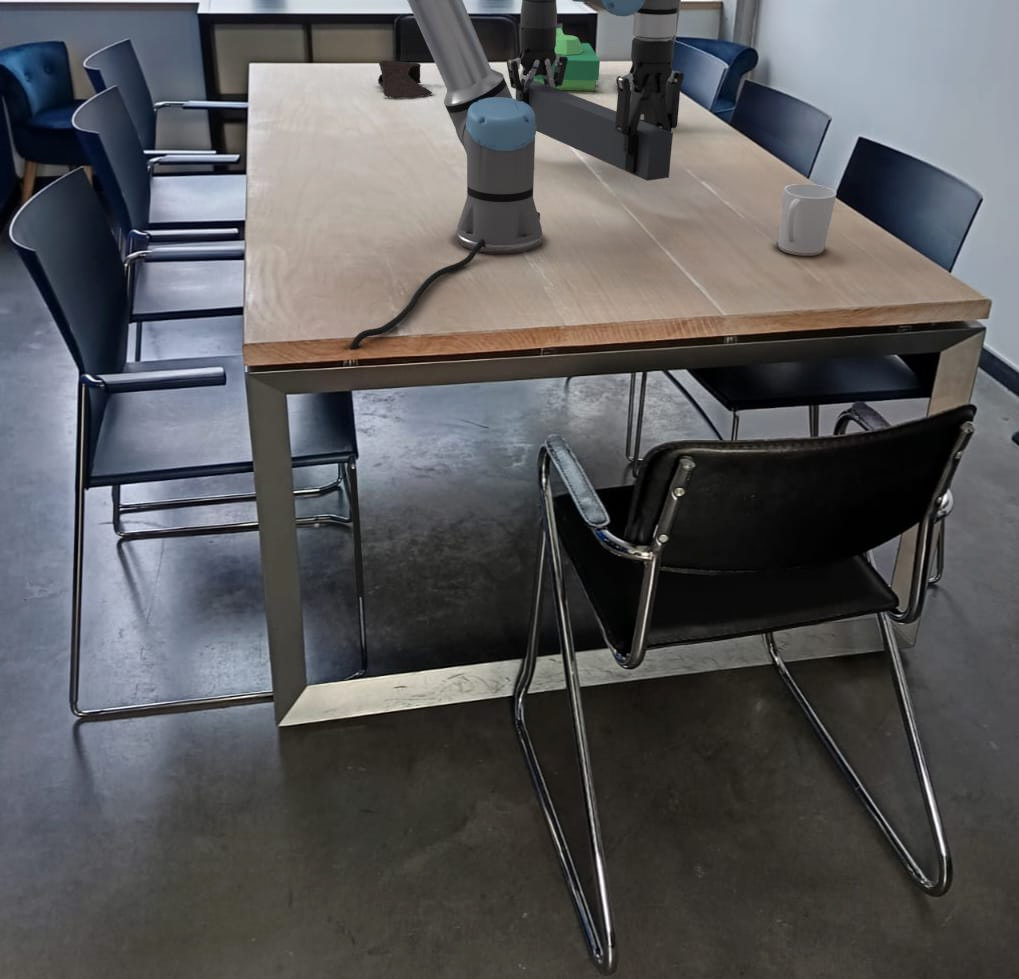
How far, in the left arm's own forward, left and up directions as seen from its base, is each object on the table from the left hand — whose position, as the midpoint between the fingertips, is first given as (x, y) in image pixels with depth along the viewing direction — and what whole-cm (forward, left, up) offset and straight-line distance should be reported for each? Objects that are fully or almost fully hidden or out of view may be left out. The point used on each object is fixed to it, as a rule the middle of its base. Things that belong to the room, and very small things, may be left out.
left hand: (643, 168), depth 207 cm
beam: (+17, +12, -1) cm, 20 cm away
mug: (-17, -28, -9) cm, 34 cm away
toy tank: (+122, +26, -9) cm, 125 cm away
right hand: (+33, +24, +3) cm, 41 cm away
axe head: (+98, +67, -9) cm, 119 cm away
